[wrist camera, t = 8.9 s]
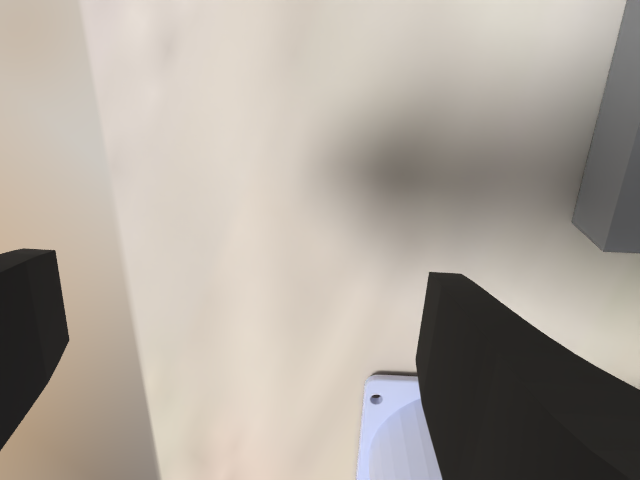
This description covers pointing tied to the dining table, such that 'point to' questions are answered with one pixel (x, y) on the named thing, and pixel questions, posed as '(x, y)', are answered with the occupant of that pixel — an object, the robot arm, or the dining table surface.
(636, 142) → the chassis
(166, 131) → the dining table surface
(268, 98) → the dining table surface
